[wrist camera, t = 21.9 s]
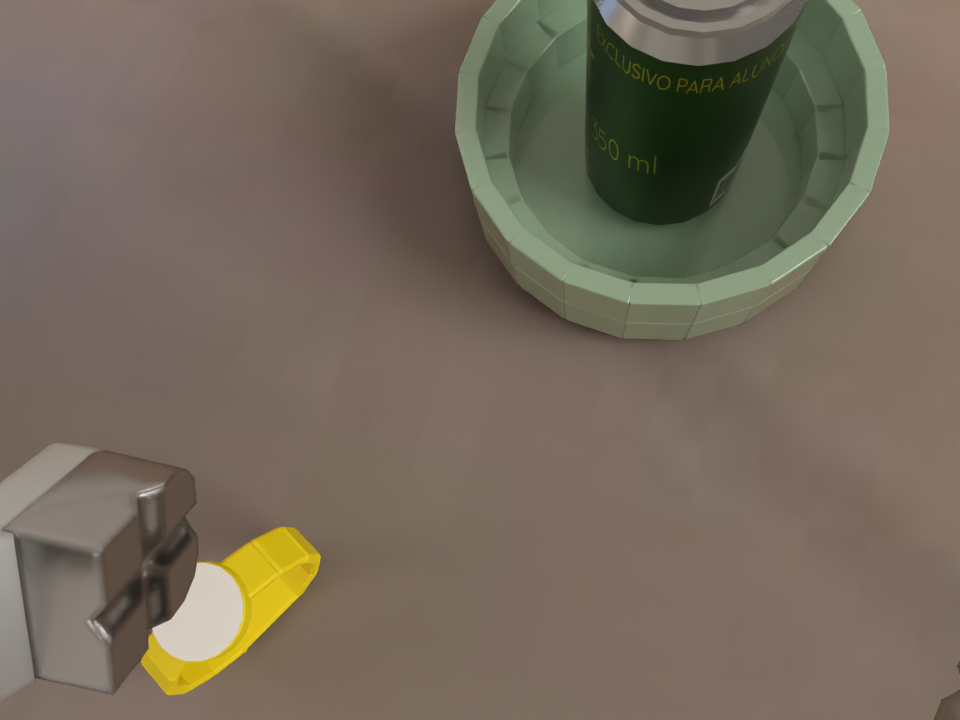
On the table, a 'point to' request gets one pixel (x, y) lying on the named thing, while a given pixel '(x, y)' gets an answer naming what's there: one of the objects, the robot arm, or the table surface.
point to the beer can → (677, 98)
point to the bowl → (673, 247)
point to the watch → (229, 608)
